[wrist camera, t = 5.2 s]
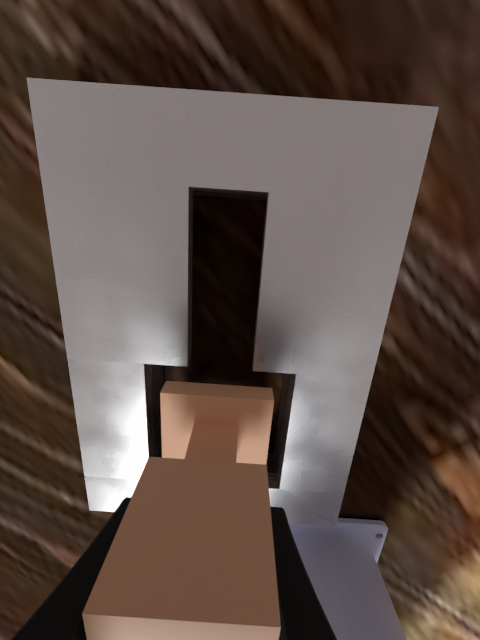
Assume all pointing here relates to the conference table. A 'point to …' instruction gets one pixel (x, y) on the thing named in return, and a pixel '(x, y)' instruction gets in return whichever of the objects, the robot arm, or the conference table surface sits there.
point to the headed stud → (196, 527)
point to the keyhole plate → (177, 261)
